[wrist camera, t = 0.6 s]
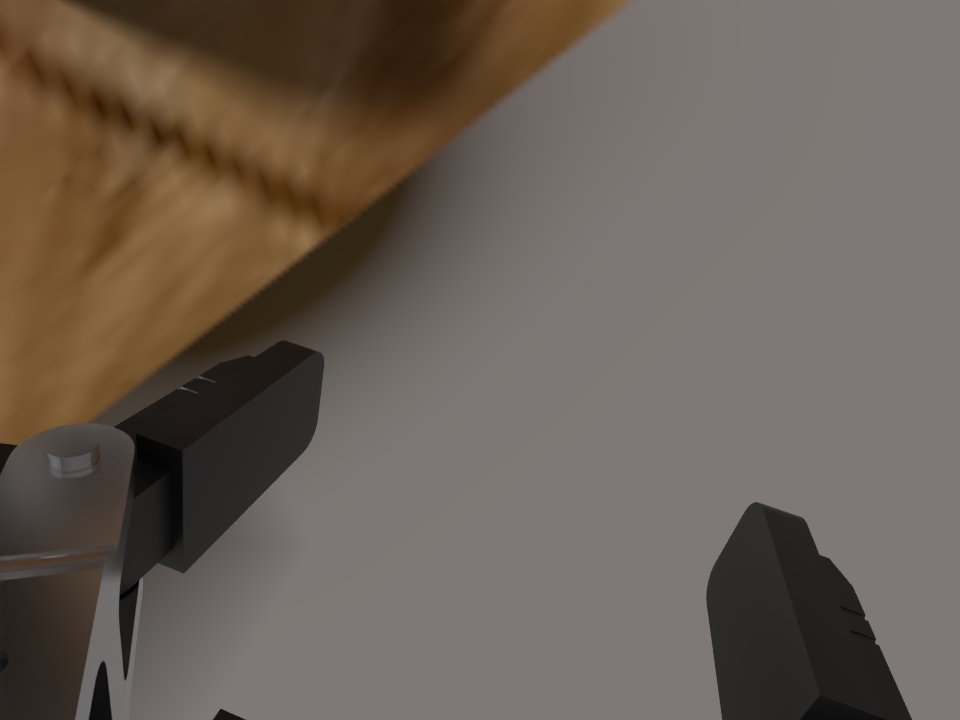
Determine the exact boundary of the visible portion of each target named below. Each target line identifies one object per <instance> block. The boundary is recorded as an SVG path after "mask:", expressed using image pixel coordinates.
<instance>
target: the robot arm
mask: <svg viewBox="0 0 960 720" xmlns="http://www.w3.org/2000/svg"><path fill="white" fill-rule="evenodd" d="M323 369H324V357H323V355H322V354H321V353H320V352H317V351H315V350H311V349H309V348H306V347H303V346H300V345H297V344H294V343H291V342H288V341H285V340H283V341H280V342H278V343H276V344H275V345H273V346H271V347H270V348H268V349H267V350H265V351H264V352H262V353H261V354H259V355H257V356H256V357H252V356H249V355H248V356H245V357H241V358H237V359H234V360H229V361H226V362H222V363H219V364H218V365H216V366H214V367H213V368H211V369H209V370H208V371H206V372H205V373H203V374H201V375H200V376H199V378H198V379H196V378H195V379H193V380H191V381H190V382H188V383H186V384H185V385H183V386H182V387H181V389H180V390H178V389H176V390H175V391H173V392H171V393H170V394H168V395H166V396H165V397H163V398H161V399H160V400H158V401H156V402H155V403H153V404H151V405H150V406H148V407H146V408H145V409H143V410H141V411H140V412H138V413H136V414H135V415H133V416H131V417H130V418H128V419H126V420H125V421H123V422H121V423H120V424H118V425H116V426H115V427H111V426H106V425H100V424H72V425H66V426H61V427H56V428H52V429H49V430H46V431H43V432H40V433H38V434H36V435H34V436H32V437H30V438H28V439H26V440H25V441H23V442H22V443H21V444H19V445H11V444H2V443H0V720H129V703H130V692H131V684H132V675H133V667H134V658H135V650H136V641H137V633H138V624H139V615H140V607H141V598H142V589H143V584H142V577H143V576H144V575H145V574H146V573H147V572H148V571H149V570H150V569H151V568H152V567H153V566H154V565H156V564H157V563H160V564H162V565H165V566H167V567H169V568H172V569H174V570H177V571H179V572H181V573H185V571H187V570H188V569H189V568H190V567H191V566H192V565H193V564H194V563H195V562H196V561H197V559H199V558H200V557H201V555H203V554H204V553H205V551H206V550H207V549H208V548H209V547H210V546H211V545H212V544H213V543H214V542H215V541H216V540H217V539H218V538H219V537H220V536H221V535H222V534H223V533H224V532H225V531H226V530H227V529H228V528H229V527H230V526H231V525H232V524H233V523H234V522H235V521H236V520H237V519H238V518H239V517H240V516H241V515H242V514H243V513H244V512H245V511H246V510H247V509H248V508H249V507H250V506H251V505H252V504H253V503H254V502H255V501H256V500H257V498H259V497H260V496H261V495H262V494H263V493H264V491H266V490H267V489H268V488H269V486H271V485H272V483H273V482H275V481H276V480H277V479H278V477H279V476H280V475H281V474H282V473H283V472H284V471H285V470H286V469H287V468H288V467H289V466H290V465H291V464H292V463H293V462H294V461H295V460H296V459H297V458H298V457H299V456H300V455H301V454H302V453H303V452H304V451H305V449H306V448H307V447H308V445H309V443H310V442H311V439H312V437H313V435H314V432H315V429H316V426H317V421H318V413H319V404H320V395H321V387H322V379H323ZM706 597H707V598H706V599H707V609H708V616H709V624H710V630H711V639H712V646H713V654H714V661H715V668H716V676H717V683H718V690H719V697H720V706H721V713H722V720H912V719H911V716H910V714H909V712H908V710H907V707H906V706H905V703H904V701H903V698H902V696H901V694H900V692H899V689H898V687H897V685H896V683H895V680H894V678H893V676H892V674H891V671H890V670H889V667H888V665H887V662H886V660H885V658H884V656H883V653H882V651H881V649H880V647H879V645H876V644H875V640H876V638H875V636H874V634H873V631H872V629H871V627H870V624H869V622H868V621H867V620H865V619H864V617H865V613H864V611H863V609H862V606H861V604H860V602H859V600H858V597H857V595H856V593H855V591H854V588H853V586H852V585H851V584H850V583H849V582H848V581H847V579H846V578H845V577H844V576H843V574H842V573H841V572H840V571H839V570H838V568H837V567H836V566H835V565H834V564H833V563H832V561H831V560H830V559H829V558H826V557H824V556H821V555H819V553H818V550H817V548H816V545H815V543H814V540H813V538H812V536H811V533H810V531H809V528H808V525H807V523H806V521H805V520H804V519H803V518H802V517H799V516H796V515H793V514H790V513H787V512H785V511H782V510H779V509H776V508H773V507H770V506H767V505H764V504H761V503H758V502H755V503H753V504H751V505H750V506H749V507H748V508H747V509H746V511H745V513H744V514H743V516H742V518H741V519H740V521H739V523H738V524H737V526H736V528H735V530H734V531H733V533H732V535H731V537H730V538H729V540H728V542H727V544H726V545H725V547H724V549H723V551H722V552H721V554H720V556H719V557H718V559H717V561H716V563H715V565H714V567H713V569H712V571H711V574H710V578H709V581H708V586H707V596H706ZM213 720H245V719H243V718H240V717H238V716H236V715H234V714H231V713H229V712H227V711H225V710H222V709H220V710H219V712H218V713H217V715H216V716H215V718H214V719H213Z"/></svg>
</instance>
